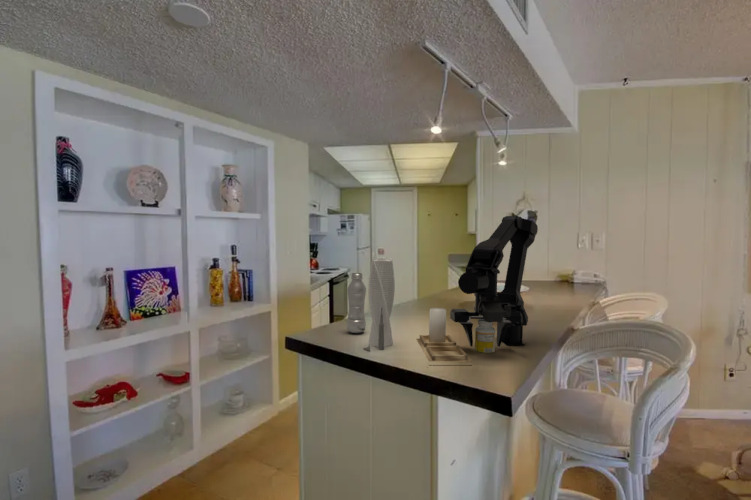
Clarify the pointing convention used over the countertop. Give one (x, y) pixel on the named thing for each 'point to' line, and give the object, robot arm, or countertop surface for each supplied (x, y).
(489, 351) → the supplement bottle
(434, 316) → the white rounded rod
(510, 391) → the countertop surface
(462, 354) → the caddy
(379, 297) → the skyscraper
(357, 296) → the plastic bottle
